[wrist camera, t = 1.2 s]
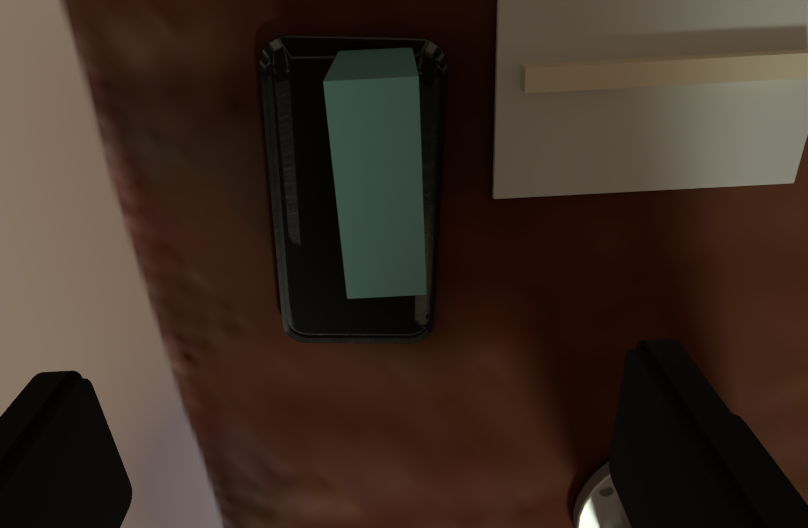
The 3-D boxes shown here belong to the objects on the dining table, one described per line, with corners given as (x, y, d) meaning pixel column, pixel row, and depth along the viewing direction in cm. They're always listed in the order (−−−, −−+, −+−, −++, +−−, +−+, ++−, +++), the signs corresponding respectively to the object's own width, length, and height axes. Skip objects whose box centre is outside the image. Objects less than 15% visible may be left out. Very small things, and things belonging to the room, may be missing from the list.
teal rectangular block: (418, 219, 28) (426, 294, 22) (356, 223, 28) (347, 298, 22) (411, 44, 24) (418, 76, 18) (340, 48, 24) (323, 81, 18)
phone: (449, 40, 24) (432, 343, 31) (447, 37, 25) (431, 331, 32) (253, 36, 23) (281, 342, 30) (259, 33, 24) (285, 330, 31)
